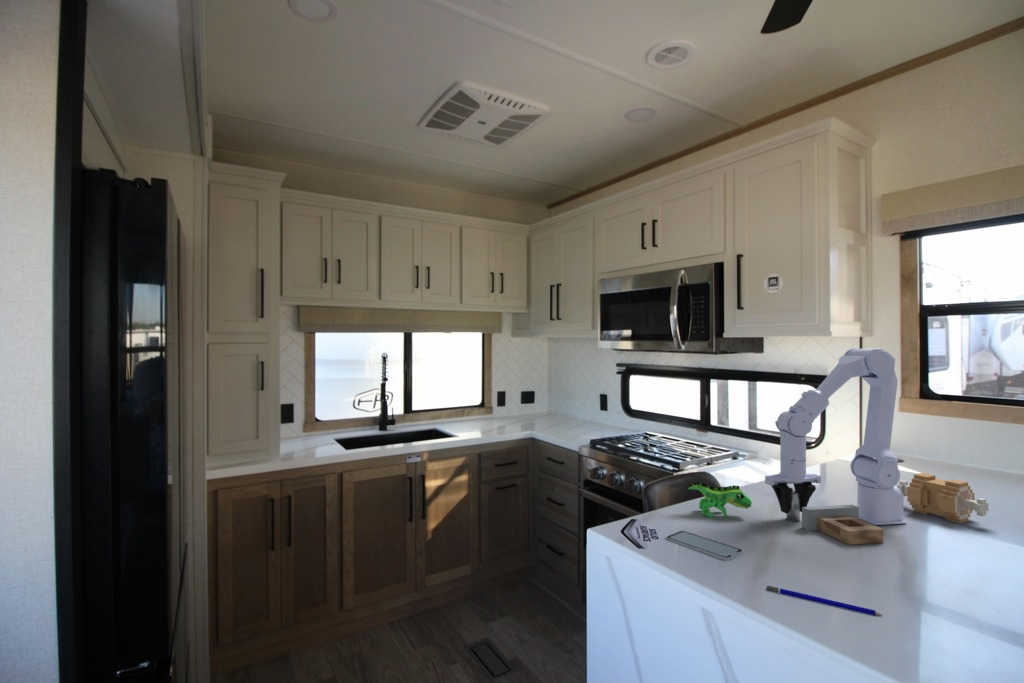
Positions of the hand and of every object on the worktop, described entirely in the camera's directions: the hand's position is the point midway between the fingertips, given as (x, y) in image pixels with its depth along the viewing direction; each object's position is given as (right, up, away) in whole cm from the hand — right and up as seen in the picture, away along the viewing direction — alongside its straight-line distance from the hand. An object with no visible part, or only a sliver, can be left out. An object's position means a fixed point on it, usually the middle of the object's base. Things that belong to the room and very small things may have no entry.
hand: (792, 511), depth 125 cm
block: (+7, -2, -11) cm, 13 cm away
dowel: (0, -2, 0) cm, 2 cm away
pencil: (-19, -2, -41) cm, 45 cm away
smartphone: (-30, -2, -17) cm, 34 cm away
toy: (-18, -2, +3) cm, 18 cm away
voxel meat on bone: (+41, -3, +4) cm, 41 cm away
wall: (+6, -2, -6) cm, 8 cm away
